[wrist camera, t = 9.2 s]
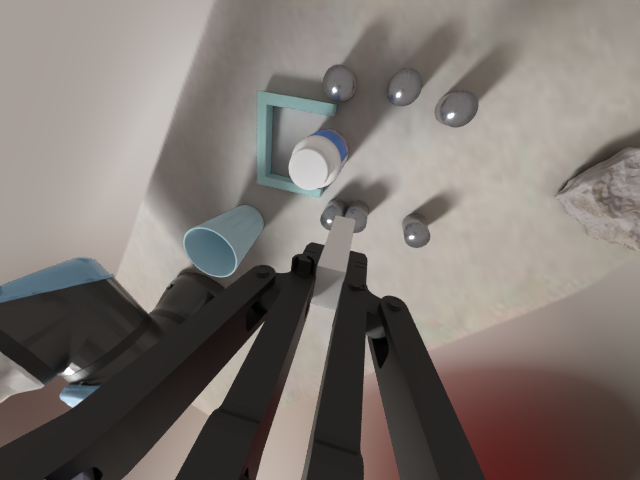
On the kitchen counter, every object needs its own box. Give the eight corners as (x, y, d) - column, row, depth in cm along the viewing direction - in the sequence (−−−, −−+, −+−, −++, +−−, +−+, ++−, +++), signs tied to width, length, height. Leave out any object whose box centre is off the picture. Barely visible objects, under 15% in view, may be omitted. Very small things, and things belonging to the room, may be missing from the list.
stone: (642, 129, 23) (713, 138, 18) (661, 208, 26) (728, 234, 21) (542, 177, 27) (579, 194, 22) (569, 241, 30) (607, 269, 25)
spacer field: (312, 212, 36) (304, 224, 32) (333, 62, 26) (326, 55, 23) (419, 238, 34) (423, 253, 30) (485, 85, 24) (502, 82, 21)
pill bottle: (311, 124, 30) (283, 132, 21) (353, 133, 29) (341, 145, 21) (305, 167, 32) (279, 189, 24) (343, 176, 32) (330, 202, 24)
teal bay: (262, 179, 35) (256, 183, 33) (264, 91, 29) (256, 90, 27) (322, 193, 34) (319, 198, 32) (336, 104, 28) (333, 104, 26)
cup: (234, 239, 42) (194, 275, 33) (221, 198, 38) (173, 226, 29) (273, 241, 40) (243, 279, 31) (264, 197, 36) (226, 227, 28)
